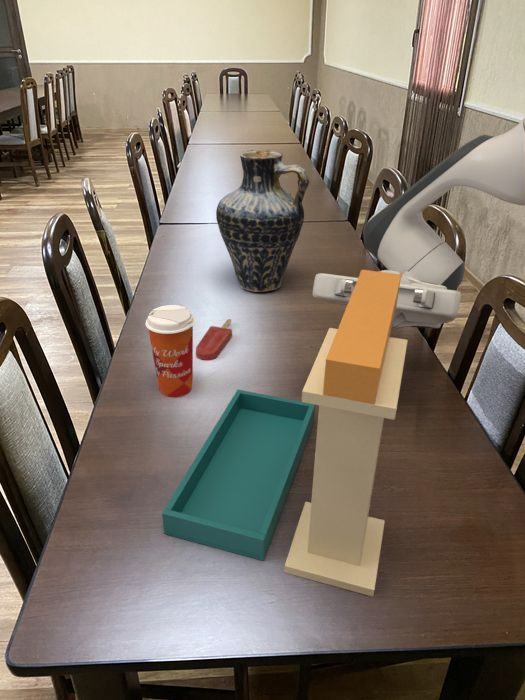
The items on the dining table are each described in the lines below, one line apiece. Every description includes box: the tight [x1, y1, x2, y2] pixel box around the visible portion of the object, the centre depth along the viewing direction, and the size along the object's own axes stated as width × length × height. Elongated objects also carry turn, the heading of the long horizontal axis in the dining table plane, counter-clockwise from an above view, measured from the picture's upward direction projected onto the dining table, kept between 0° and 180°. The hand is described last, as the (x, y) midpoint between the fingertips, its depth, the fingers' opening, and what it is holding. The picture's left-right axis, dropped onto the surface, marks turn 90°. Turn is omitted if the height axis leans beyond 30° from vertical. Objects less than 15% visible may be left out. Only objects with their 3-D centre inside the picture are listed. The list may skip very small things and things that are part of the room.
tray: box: [161, 389, 316, 562], centre depth 73 cm, size 27×13×4 cm, turn 163°
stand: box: [283, 327, 408, 598], centre depth 57 cm, size 12×10×26 cm
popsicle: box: [195, 318, 233, 361], centre depth 105 cm, size 4×2×15 cm
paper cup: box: [145, 304, 197, 398], centre depth 88 cm, size 8×8×14 cm
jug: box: [215, 149, 310, 293], centre depth 121 cm, size 21×19×30 cm
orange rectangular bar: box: [323, 269, 401, 404], centre depth 52 cm, size 20×4×4 cm, turn 163°
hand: (382, 290), depth 70 cm, fingers open, 8 cm apart
